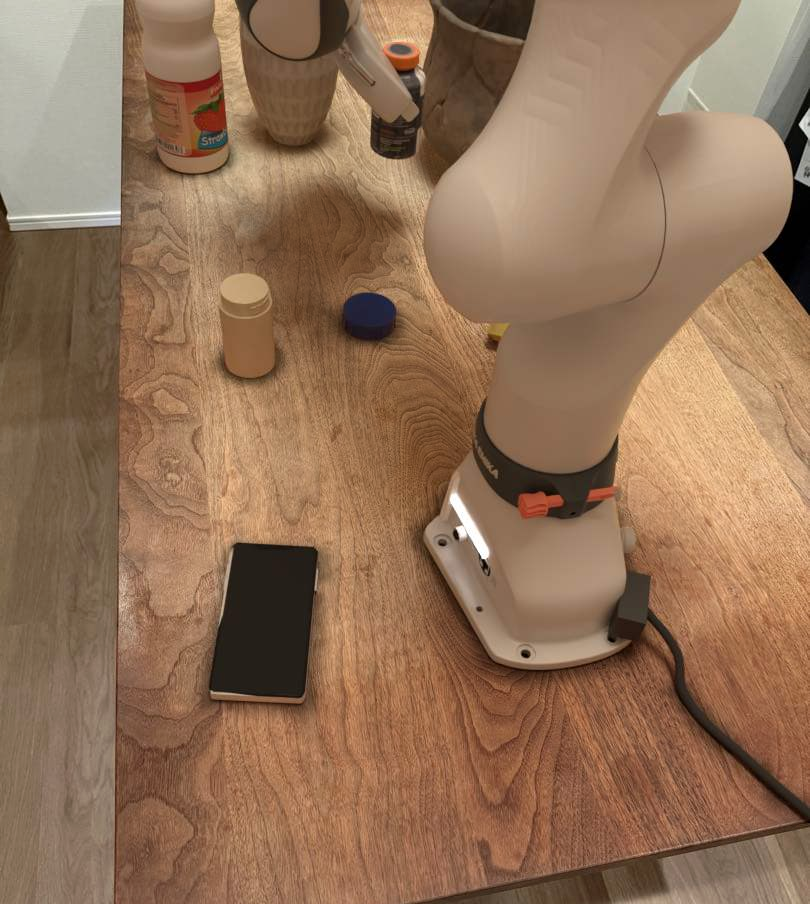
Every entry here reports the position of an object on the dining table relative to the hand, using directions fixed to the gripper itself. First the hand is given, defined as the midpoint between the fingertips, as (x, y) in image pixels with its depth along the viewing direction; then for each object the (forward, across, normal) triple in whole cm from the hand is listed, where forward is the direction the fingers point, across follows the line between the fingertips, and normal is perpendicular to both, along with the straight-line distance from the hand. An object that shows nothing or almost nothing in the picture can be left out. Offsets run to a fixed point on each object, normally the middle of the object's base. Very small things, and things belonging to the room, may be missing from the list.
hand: (403, 97), depth 99 cm
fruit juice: (-4, +20, +27) cm, 34 cm away
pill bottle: (+4, 0, +5) cm, 6 cm away
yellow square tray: (+18, -24, +5) cm, 30 cm away
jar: (-5, -21, +28) cm, 35 cm away
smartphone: (-8, -54, +32) cm, 63 cm away
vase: (+6, +23, +17) cm, 29 cm away
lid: (+4, -18, +16) cm, 25 cm away
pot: (+24, +11, -2) cm, 27 cm away
